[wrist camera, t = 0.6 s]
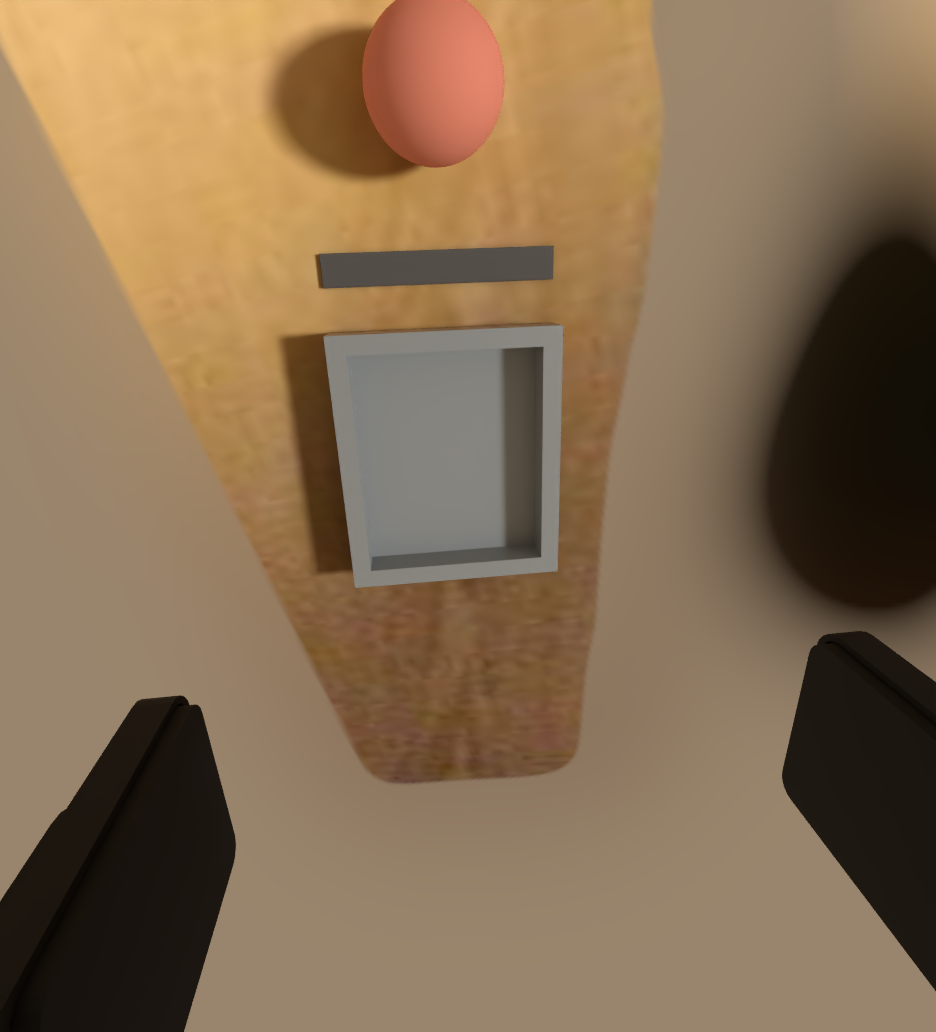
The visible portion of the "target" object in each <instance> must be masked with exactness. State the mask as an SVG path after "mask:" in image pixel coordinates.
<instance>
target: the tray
mask: <svg viewBox="0 0 936 1032" xmlns="http://www.w3.org/2000/svg"><path fill="white" fill-rule="evenodd" d="M323 338H324V346H325V354H326V362H327V370H328V377H329V385H330V393H331V401H332V409H333V417H334V425H335V432H336V440H337V448H338V456H339V464H340V472H341V480H342V488H343V495H344V503H345V511H346V519H347V527H348V535H349V543H350V551H351V558H352V566H353V574H354V582H355V588H360V587H372V586H384V585H396V584H408V583H420V582H432V581H444V580H456V579H468V578H479V577H491V576H503V575H515V574H527V573H539V572H551V571H558V529H559V486H560V442H561V399H562V356H563V325H560V324H556V323H532V324H510V325H489V326H467V327H446V328H424V329H403V330H381V331H360V332H339V333H328V334H327V335H325V336H323Z"/></svg>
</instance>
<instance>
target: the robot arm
mask: <svg viewBox="0 0 936 1032" xmlns="http://www.w3.org/2000/svg"><path fill="white" fill-rule="evenodd" d="M782 779H783V784H784V788H785V790H786V792H787V794H788V796H789V797H790V799H791V800H792V801H793V803H794V804H795V805H796V807H797V808H798V809H799V811H800V812H801V813H802V815H803V816H804V818H805V819H806V820H807V821H808V823H809V824H810V825H811V827H812V828H813V829H814V831H815V832H816V833H817V835H818V836H819V837H820V838H821V840H822V841H823V843H824V844H825V845H826V847H827V848H828V849H829V851H830V852H831V853H832V855H833V856H834V857H835V858H836V860H837V861H838V862H839V864H840V865H841V866H842V868H843V869H844V870H845V872H846V873H847V874H848V875H849V877H850V878H851V880H852V881H853V882H854V884H855V885H856V886H857V887H858V889H859V890H860V892H861V893H862V894H863V895H864V896H865V898H866V899H867V901H868V902H869V903H870V905H871V906H872V907H873V909H874V910H875V911H876V913H877V914H878V915H879V916H880V918H881V919H882V920H883V922H884V923H885V925H886V926H887V927H888V929H889V930H890V931H891V932H892V934H893V935H894V936H895V938H896V939H897V940H898V942H899V943H900V944H901V946H902V947H903V948H904V950H905V951H906V952H907V954H908V955H909V956H910V958H911V959H912V960H913V962H914V963H915V964H916V965H917V967H918V968H919V970H920V971H921V972H922V973H923V975H924V976H925V977H926V979H927V980H928V981H929V983H930V984H931V985H932V987H933V988H934V989H935V991H936V682H935V681H933V680H932V679H931V678H929V677H928V676H927V675H925V674H924V673H923V672H921V671H920V670H918V669H917V668H916V667H914V666H913V665H912V664H910V663H909V662H908V661H906V660H905V659H904V658H902V657H901V656H900V655H898V654H897V653H896V652H894V651H893V650H892V649H890V648H889V647H888V646H886V645H885V644H884V643H882V642H881V641H879V640H878V639H877V638H875V637H874V636H873V635H871V634H869V633H867V632H862V631H856V632H846V633H835V634H827V635H824V636H822V637H821V638H820V639H819V641H818V644H817V645H815V646H813V647H812V648H811V650H810V653H809V657H808V661H807V666H806V670H805V675H804V679H803V683H802V688H801V692H800V697H799V701H798V705H797V710H796V714H795V718H794V723H793V727H792V731H791V736H790V740H789V745H788V749H787V754H786V758H785V762H784V767H783V772H782ZM235 848H236V842H235V834H234V830H233V826H232V823H231V819H230V815H229V812H228V808H227V804H226V800H225V797H224V793H223V789H222V785H221V781H220V778H219V774H218V770H217V766H216V763H215V759H214V755H213V751H212V748H211V744H210V740H209V736H208V733H207V729H206V725H205V722H204V718H203V714H202V711H201V708H200V707H199V706H198V705H189V703H188V700H187V699H186V698H185V697H184V696H171V697H161V698H151V699H141V700H139V701H137V702H136V703H135V705H134V706H133V707H132V708H131V710H130V712H129V713H128V715H127V716H126V718H125V720H124V721H123V722H122V724H121V726H120V727H119V729H118V730H117V732H116V733H115V735H114V736H113V738H112V739H111V741H110V742H109V744H108V746H107V747H106V749H105V750H104V752H103V753H102V755H101V756H100V758H99V760H98V761H97V762H96V764H95V766H94V767H93V769H92V770H91V772H90V773H89V775H88V776H87V778H86V780H85V781H84V783H83V784H82V786H81V787H80V789H79V790H78V792H77V794H76V795H75V796H74V798H73V800H72V801H71V803H70V804H69V806H68V807H67V809H66V810H64V811H62V812H61V813H60V814H59V815H58V817H57V818H56V819H55V820H54V821H53V823H52V824H51V825H50V827H49V828H48V830H47V831H46V833H45V834H44V836H43V837H42V839H41V840H40V842H39V843H38V845H37V846H36V848H35V849H34V851H33V853H32V854H31V856H30V857H29V859H28V860H27V862H26V863H25V865H24V866H23V868H22V869H21V871H20V872H19V874H18V875H17V877H16V879H15V880H14V881H13V883H12V884H11V886H10V887H9V889H8V890H7V892H6V894H5V895H4V896H3V898H2V900H1V901H0V1032H184V1029H185V1026H186V1023H187V1019H188V1016H189V1012H190V1009H191V1006H192V1002H193V999H194V995H195V992H196V989H197V985H198V982H199V979H200V975H201V972H202V969H203V965H204V962H205V958H206V955H207V952H208V948H209V945H210V942H211V938H212V935H213V931H214V928H215V925H216V921H217V918H218V915H219V911H220V907H221V904H222V901H223V898H224V894H225V891H226V888H227V884H228V881H229V877H230V874H231V870H232V867H233V863H234V859H235V850H236V849H235Z"/></svg>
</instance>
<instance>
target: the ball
mask: <svg viewBox="0 0 936 1032" xmlns="http://www.w3.org/2000/svg"><path fill="white" fill-rule="evenodd" d="M362 85H363V93H364V98H365V102H366V106H367V109H368V112H369V115H370V117H371V120H372V122H373V124H374V126H375V128H376V130H377V131H378V133H379V134H380V136H381V137H382V139H383V140H384V141H385V142H386V143H387V144H388V146H389V147H390V148H392V149H393V150H394V151H395V152H396V153H397V154H399V155H400V156H401V157H403V158H405V159H406V160H408V161H410V162H412V163H415V164H418V165H421V166H426V167H446V166H450V165H454V164H457V163H459V162H461V161H463V160H465V159H466V158H468V157H470V156H471V155H472V154H473V153H475V152H476V151H477V150H478V149H479V148H480V147H481V146H482V144H483V143H484V142H485V141H486V139H487V138H488V137H489V135H490V134H491V132H492V130H493V128H494V126H495V124H496V121H497V119H498V116H499V113H500V109H501V105H502V101H503V94H504V69H503V62H502V57H501V53H500V49H499V46H498V43H497V41H496V38H495V36H494V34H493V32H492V30H491V28H490V26H489V25H488V23H487V22H486V20H485V19H484V18H483V16H482V15H481V14H480V13H479V12H478V11H477V9H476V8H475V7H474V6H472V5H471V4H470V3H469V2H468V1H466V0H396V1H394V2H393V3H392V4H391V5H390V6H389V7H387V8H386V10H385V11H384V12H383V13H382V14H381V16H380V17H379V18H378V20H377V22H376V23H375V25H374V27H373V29H372V31H371V33H370V36H369V38H368V41H367V44H366V47H365V52H364V57H363V66H362Z"/></svg>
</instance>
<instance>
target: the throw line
mask: <svg viewBox="0 0 936 1032" xmlns="http://www.w3.org/2000/svg"><path fill="white" fill-rule="evenodd" d="M553 248H554V246H533V247H504V248H476V249H448V250H419V251H391V252H363V253H334V254H319V256H320V264H321V272H322V280H323V288H344V287H369V286H394V285H419V284H444V283H469V282H493V281H518V280H543V279H553Z"/></svg>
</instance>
